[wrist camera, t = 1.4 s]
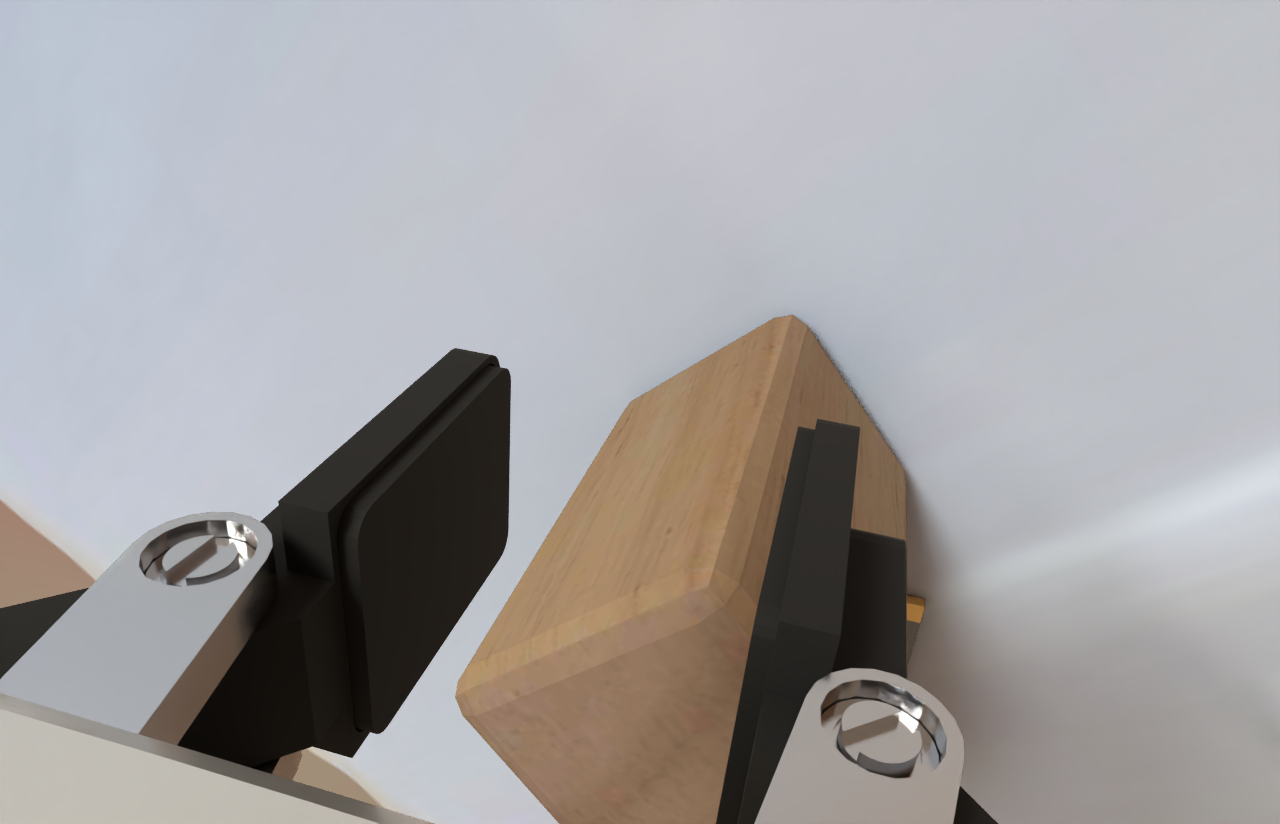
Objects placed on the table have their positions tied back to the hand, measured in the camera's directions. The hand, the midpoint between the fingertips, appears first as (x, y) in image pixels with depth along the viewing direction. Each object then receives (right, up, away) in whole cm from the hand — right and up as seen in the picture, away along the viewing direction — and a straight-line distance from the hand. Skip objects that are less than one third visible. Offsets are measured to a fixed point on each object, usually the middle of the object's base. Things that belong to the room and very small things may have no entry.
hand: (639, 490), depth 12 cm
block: (+6, 0, +30) cm, 31 cm away
